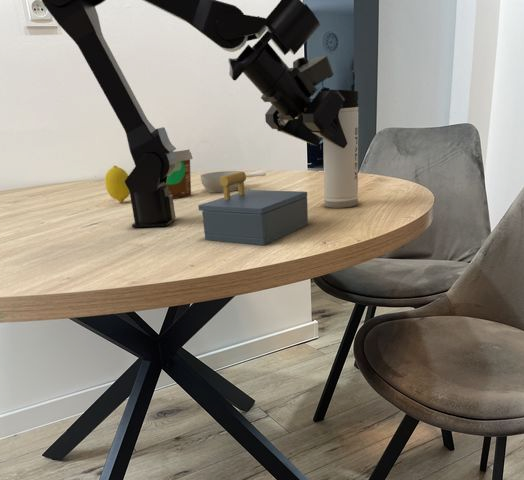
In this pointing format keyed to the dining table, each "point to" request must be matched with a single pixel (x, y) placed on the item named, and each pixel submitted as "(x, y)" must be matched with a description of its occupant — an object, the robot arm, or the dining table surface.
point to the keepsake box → (255, 224)
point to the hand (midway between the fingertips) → (331, 144)
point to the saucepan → (213, 180)
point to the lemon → (117, 183)
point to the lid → (249, 198)
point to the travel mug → (343, 157)
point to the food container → (180, 175)
